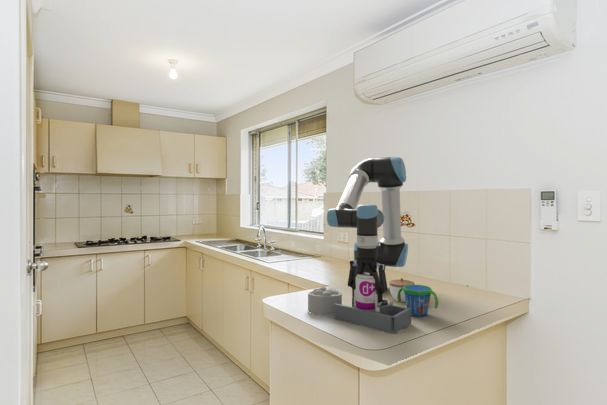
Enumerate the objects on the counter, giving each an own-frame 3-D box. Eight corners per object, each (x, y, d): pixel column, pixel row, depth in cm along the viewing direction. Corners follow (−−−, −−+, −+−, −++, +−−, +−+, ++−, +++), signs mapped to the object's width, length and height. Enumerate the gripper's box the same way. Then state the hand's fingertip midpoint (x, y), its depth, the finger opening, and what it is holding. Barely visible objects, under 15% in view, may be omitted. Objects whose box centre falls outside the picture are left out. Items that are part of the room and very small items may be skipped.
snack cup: (392, 312, 145) (392, 286, 144) (406, 306, 152) (406, 281, 152) (429, 321, 133) (429, 293, 133) (442, 315, 141) (443, 288, 141)
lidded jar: (415, 297, 165) (415, 276, 165) (414, 304, 155) (414, 282, 155) (390, 295, 169) (390, 275, 168) (388, 302, 158) (388, 280, 158)
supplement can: (378, 319, 130) (378, 277, 130) (354, 317, 132) (354, 276, 132) (378, 312, 138) (378, 272, 138) (356, 310, 140) (356, 271, 140)
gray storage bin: (334, 318, 137) (334, 304, 137) (353, 310, 147) (353, 296, 147) (394, 334, 121) (394, 317, 121) (410, 323, 131) (411, 308, 131)
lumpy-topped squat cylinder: (343, 313, 143) (343, 291, 143) (310, 316, 140) (310, 293, 140) (336, 306, 153) (336, 285, 153) (305, 307, 151) (305, 286, 151)
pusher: (375, 324, 128) (375, 303, 127) (388, 316, 135) (388, 297, 135) (380, 325, 126) (380, 304, 126) (393, 317, 134) (393, 298, 134)
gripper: (337, 245, 139) (337, 305, 139) (388, 250, 125) (388, 317, 126) (348, 243, 144) (348, 301, 145) (398, 248, 131) (398, 312, 131)
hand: (367, 308), depth 135 cm, fingers closed on supplement can, 8 cm apart
